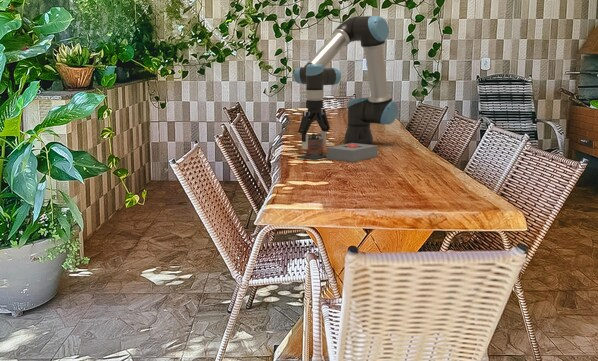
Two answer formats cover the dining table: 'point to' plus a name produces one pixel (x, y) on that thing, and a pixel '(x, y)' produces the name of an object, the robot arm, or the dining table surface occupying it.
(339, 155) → the button panel
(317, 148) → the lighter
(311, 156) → the mat
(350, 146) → the red dome button
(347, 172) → the dining table surface
